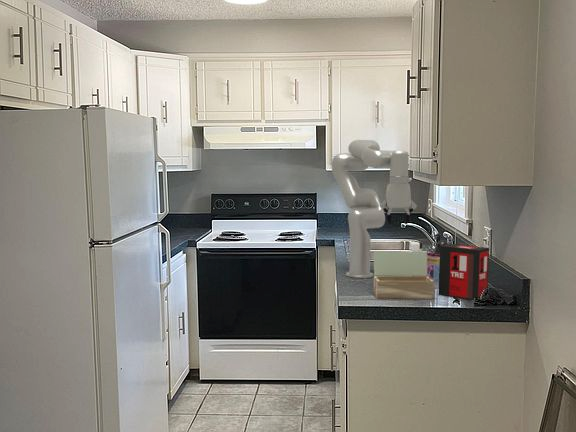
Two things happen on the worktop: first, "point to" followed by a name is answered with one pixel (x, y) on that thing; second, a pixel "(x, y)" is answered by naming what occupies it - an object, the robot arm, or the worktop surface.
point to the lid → (400, 263)
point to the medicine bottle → (416, 247)
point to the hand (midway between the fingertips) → (397, 223)
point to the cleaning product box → (463, 271)
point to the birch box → (403, 287)
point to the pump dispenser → (437, 248)
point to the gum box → (433, 268)
